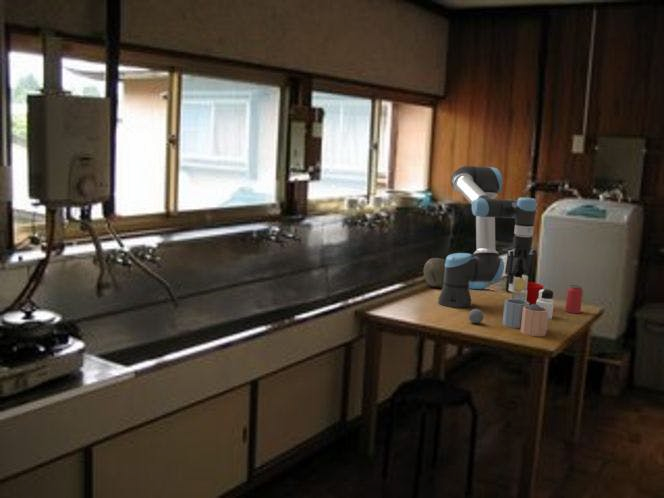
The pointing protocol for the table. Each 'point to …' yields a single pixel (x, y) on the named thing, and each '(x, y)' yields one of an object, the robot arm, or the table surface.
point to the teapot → (478, 285)
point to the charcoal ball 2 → (534, 307)
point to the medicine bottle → (546, 301)
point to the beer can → (574, 299)
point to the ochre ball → (519, 284)
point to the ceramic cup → (533, 292)
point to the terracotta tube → (534, 322)
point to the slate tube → (513, 312)
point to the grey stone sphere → (435, 272)
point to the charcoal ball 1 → (476, 316)
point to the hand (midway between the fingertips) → (517, 290)
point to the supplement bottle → (520, 295)
